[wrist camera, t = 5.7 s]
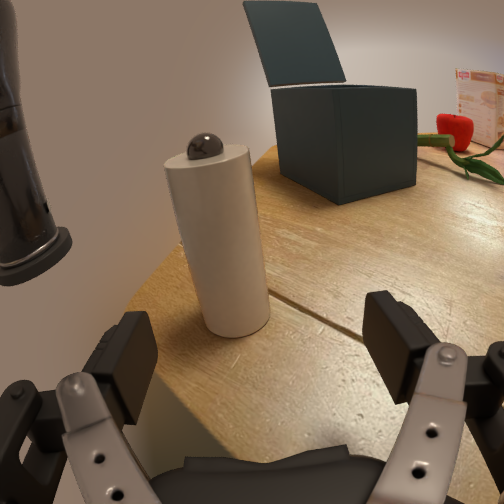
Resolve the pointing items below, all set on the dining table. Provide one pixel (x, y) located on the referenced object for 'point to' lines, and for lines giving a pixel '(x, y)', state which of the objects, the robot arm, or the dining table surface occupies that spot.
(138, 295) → the dining table surface
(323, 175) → the chest
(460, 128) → the apple
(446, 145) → the decorative plant
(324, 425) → the dining table surface
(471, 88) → the coffeecake box
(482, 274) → the dining table surface
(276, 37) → the lid
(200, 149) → the pepper mill
